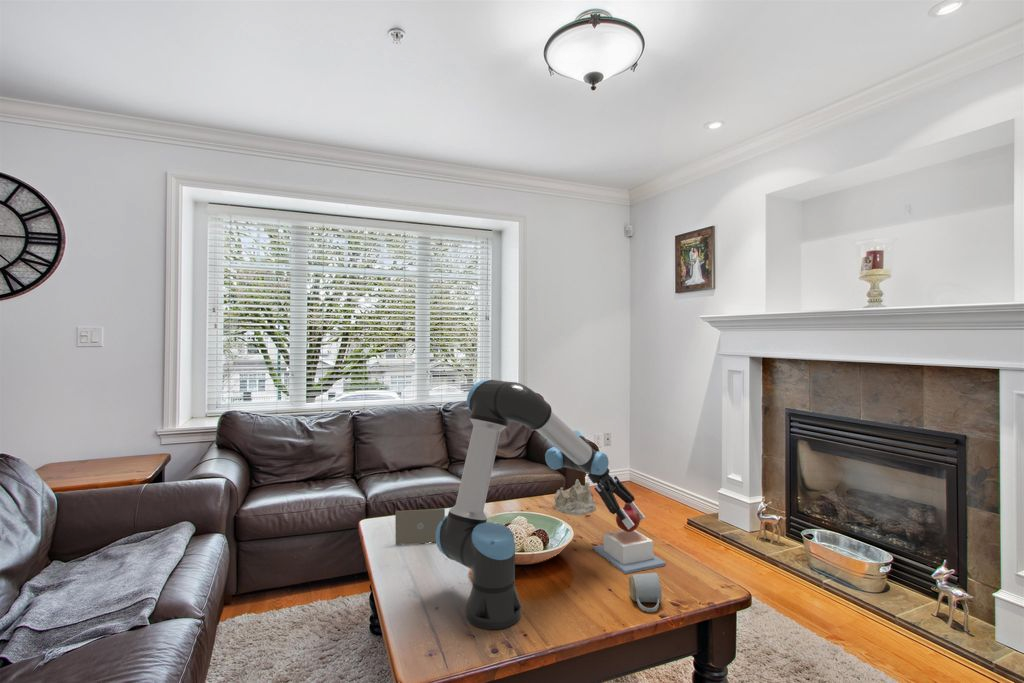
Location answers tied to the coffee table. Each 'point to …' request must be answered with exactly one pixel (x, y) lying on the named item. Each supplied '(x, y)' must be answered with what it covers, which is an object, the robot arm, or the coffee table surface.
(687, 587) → the coffee table surface
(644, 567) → the pedestal board
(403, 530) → the laptop
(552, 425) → the robot arm
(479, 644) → the coffee table surface
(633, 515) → the fruit
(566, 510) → the miniature stone castle
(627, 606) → the coffee table surface
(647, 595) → the ceramic mug
